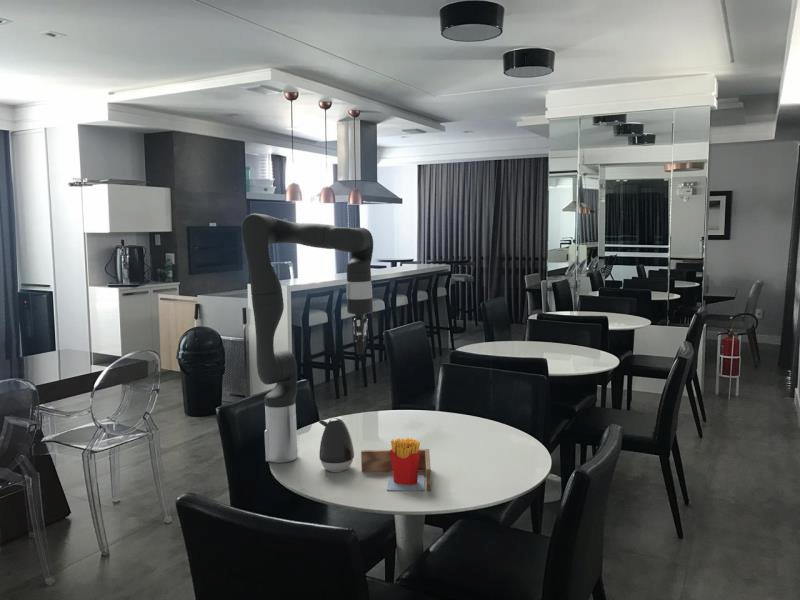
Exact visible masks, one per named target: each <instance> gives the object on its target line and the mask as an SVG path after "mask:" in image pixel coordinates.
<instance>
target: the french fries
mask: <svg viewBox="0 0 800 600" xmlns="http://www.w3.org/2000/svg"><path fill="white" fill-rule="evenodd" d="M390 442H391V444H390V445H391V449H389V450H390V455H391V463H392V471H391V472H392V476H393V479H394V482H395V483H398V484H404V485H414V484H416V483H417V480H418V475H419V471H418V466H419V453H420V451H418V450H419V449H420V444H421V441H418V440H416V439H413V438H411V437H407V438H406V439H405V438H400V437H399V438H395V440H394V439H391V441H390Z"/></svg>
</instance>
